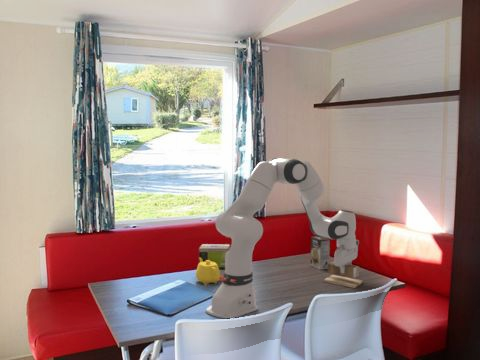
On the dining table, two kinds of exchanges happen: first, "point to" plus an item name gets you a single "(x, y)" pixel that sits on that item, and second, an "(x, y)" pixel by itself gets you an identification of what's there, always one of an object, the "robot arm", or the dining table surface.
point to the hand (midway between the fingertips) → (345, 271)
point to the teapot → (207, 272)
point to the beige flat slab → (343, 281)
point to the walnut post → (349, 270)
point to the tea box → (215, 254)
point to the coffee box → (320, 252)
